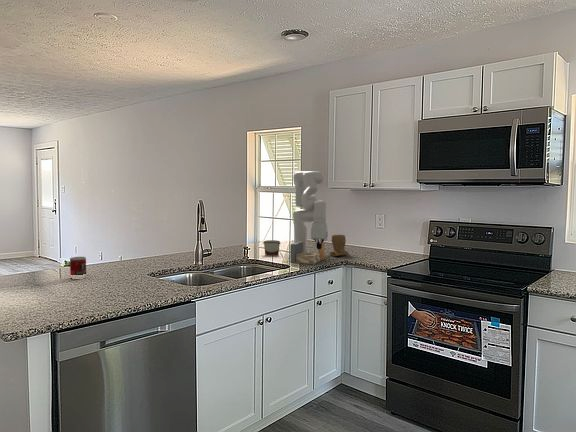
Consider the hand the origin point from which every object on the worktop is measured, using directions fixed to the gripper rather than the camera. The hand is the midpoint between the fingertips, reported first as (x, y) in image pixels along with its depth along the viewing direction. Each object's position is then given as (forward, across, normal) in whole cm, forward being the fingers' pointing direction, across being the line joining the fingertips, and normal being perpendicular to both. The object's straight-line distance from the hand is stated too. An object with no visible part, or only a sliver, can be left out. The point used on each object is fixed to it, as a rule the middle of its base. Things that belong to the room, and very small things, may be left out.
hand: (319, 249), depth 285 cm
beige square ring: (+9, -7, -1) cm, 11 cm away
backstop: (+9, -15, -1) cm, 18 cm away
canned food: (+9, -98, -100) cm, 140 cm away
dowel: (+9, -2, +11) cm, 15 cm away
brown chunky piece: (+10, +2, +34) cm, 36 cm away
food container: (+10, -41, +16) cm, 46 cm away
